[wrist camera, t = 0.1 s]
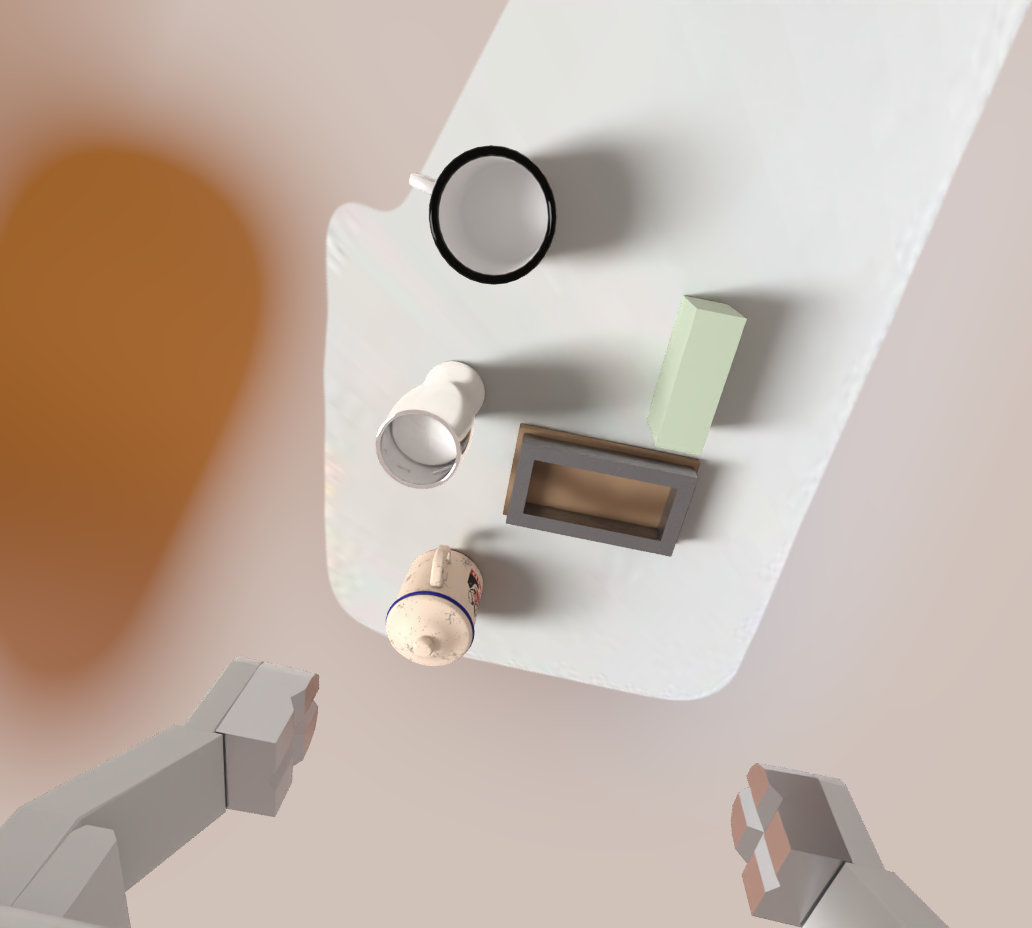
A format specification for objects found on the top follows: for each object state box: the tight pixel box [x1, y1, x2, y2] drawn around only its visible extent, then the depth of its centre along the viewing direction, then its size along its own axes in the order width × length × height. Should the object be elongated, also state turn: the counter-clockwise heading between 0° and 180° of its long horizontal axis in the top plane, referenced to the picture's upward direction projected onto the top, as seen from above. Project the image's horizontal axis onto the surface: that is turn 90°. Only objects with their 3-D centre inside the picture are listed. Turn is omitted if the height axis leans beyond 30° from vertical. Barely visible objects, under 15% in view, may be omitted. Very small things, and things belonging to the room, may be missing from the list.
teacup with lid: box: [386, 545, 483, 666], centre depth 62 cm, size 12×9×12 cm
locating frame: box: [503, 424, 700, 557], centre depth 60 cm, size 10×18×4 cm, turn 80°
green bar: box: [647, 295, 747, 456], centre depth 53 cm, size 12×4×7 cm, turn 170°
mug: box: [409, 145, 557, 285], centre depth 48 cm, size 12×10×9 cm
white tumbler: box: [376, 361, 485, 489], centre depth 52 cm, size 7×7×15 cm
